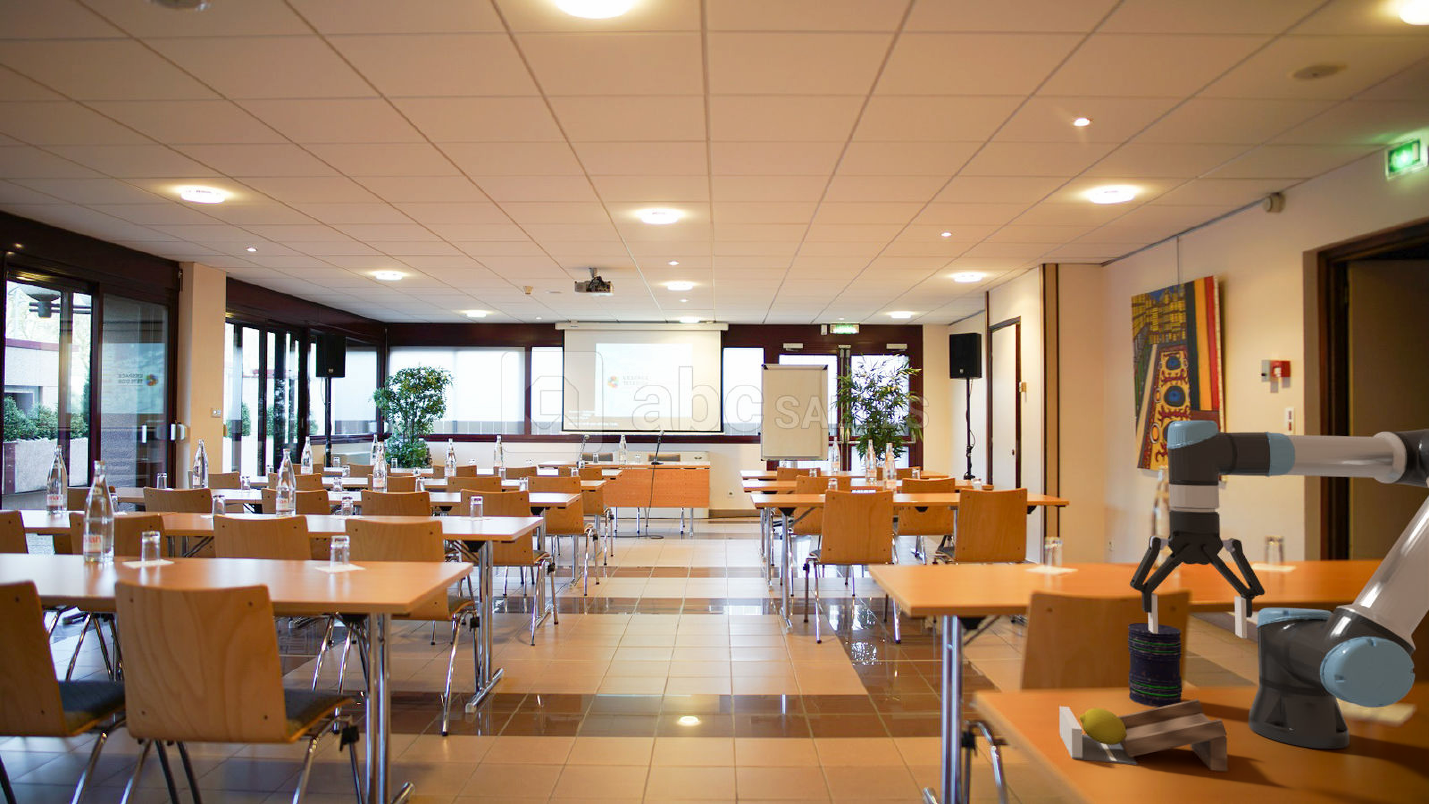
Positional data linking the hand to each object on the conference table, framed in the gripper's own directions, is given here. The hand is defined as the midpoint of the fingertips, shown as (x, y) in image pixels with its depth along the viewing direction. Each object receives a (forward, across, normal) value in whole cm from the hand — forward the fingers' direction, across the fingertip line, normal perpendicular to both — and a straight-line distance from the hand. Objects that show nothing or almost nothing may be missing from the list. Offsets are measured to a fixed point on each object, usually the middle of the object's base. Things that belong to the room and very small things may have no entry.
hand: (1196, 634), depth 139 cm
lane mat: (+21, +16, 0) cm, 26 cm away
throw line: (+21, +15, 0) cm, 25 cm away
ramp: (+21, +5, 0) cm, 21 cm away
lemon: (+15, +19, +2) cm, 25 cm away
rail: (+21, +20, 0) cm, 29 cm away
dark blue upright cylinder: (+21, -2, -33) cm, 39 cm away
